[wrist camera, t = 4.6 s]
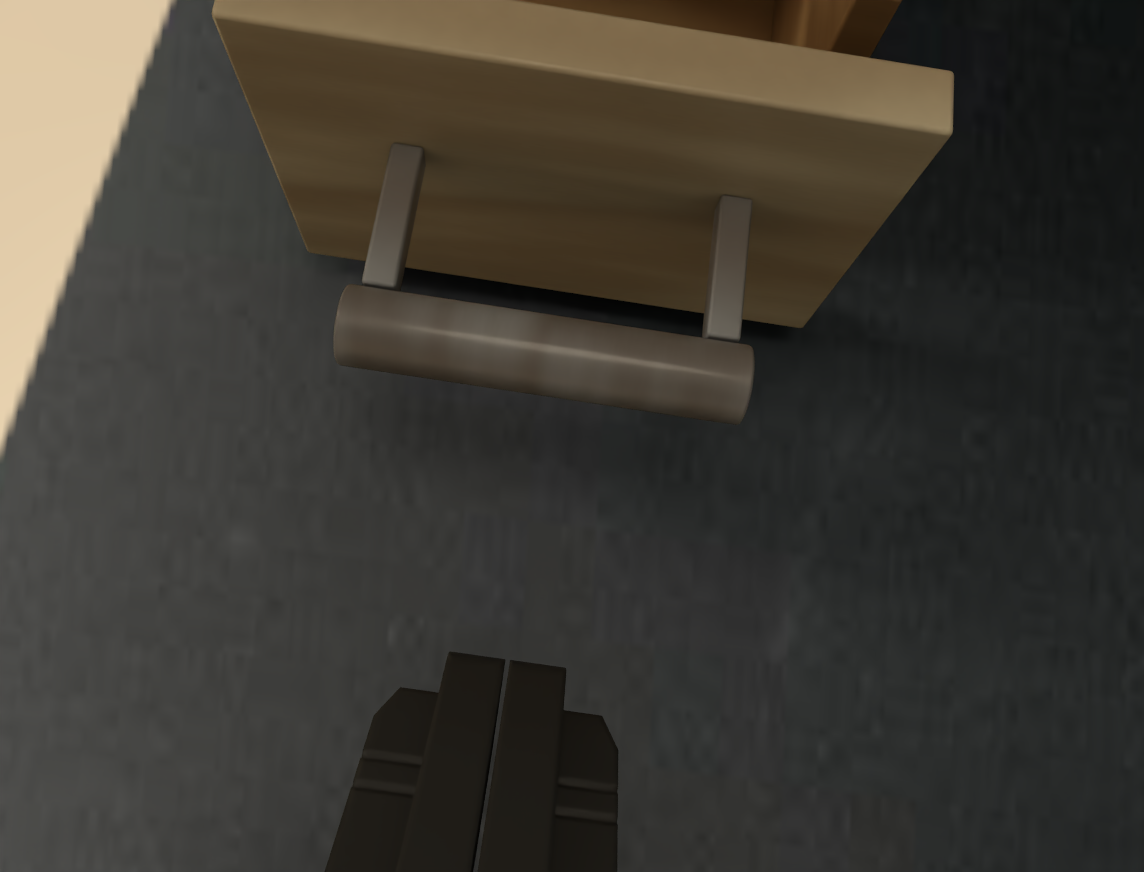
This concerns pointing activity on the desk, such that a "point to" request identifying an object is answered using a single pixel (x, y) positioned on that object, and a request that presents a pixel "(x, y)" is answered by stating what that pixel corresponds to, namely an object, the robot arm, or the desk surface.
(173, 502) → the desk surface
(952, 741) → the desk surface
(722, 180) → the drawer
